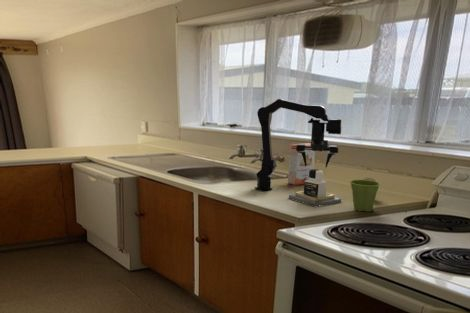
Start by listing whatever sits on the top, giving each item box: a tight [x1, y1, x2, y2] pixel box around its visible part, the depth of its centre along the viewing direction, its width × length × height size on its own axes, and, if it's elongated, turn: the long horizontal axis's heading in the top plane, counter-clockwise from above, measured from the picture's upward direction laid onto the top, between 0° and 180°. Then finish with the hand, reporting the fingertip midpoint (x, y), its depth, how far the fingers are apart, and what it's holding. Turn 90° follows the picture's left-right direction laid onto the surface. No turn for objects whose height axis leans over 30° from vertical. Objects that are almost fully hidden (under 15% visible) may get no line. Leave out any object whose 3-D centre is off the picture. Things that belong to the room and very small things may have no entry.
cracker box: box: [287, 142, 316, 186], centre depth 204 cm, size 14×6×21 cm, turn 129°
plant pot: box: [349, 179, 381, 213], centre depth 158 cm, size 12×12×11 cm
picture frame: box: [288, 190, 342, 207], centre depth 171 cm, size 16×16×3 cm
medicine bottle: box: [303, 168, 328, 197], centre depth 170 cm, size 7×7×12 cm
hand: (315, 166), depth 180 cm, fingers open, 9 cm apart
